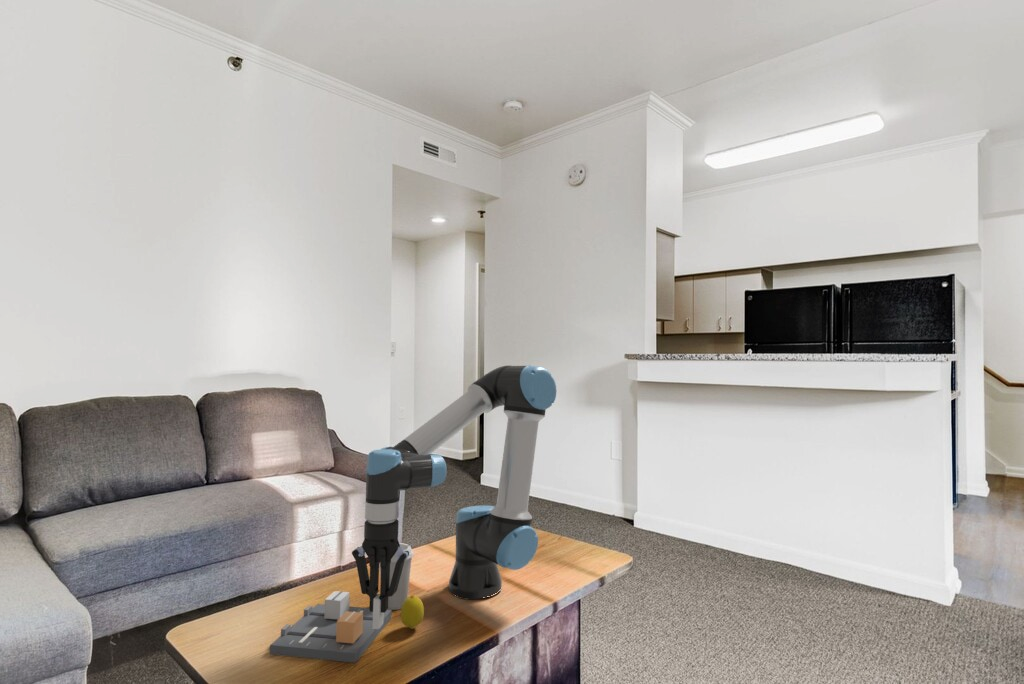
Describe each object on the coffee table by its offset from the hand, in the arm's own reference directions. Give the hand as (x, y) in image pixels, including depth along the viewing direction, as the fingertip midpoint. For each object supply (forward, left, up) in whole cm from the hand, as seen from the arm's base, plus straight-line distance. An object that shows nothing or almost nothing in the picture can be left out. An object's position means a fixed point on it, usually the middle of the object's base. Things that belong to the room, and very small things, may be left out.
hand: (378, 626), depth 123 cm
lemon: (-4, -11, -6) cm, 13 cm away
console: (+13, -5, -6) cm, 15 cm away
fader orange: (+7, 0, -4) cm, 8 cm away
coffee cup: (+5, -23, -6) cm, 24 cm away
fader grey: (+15, -10, -4) cm, 18 cm away
